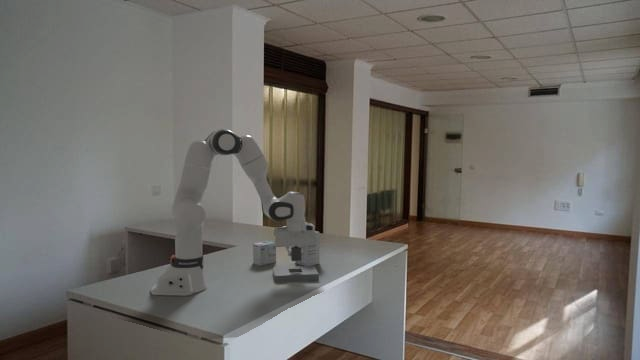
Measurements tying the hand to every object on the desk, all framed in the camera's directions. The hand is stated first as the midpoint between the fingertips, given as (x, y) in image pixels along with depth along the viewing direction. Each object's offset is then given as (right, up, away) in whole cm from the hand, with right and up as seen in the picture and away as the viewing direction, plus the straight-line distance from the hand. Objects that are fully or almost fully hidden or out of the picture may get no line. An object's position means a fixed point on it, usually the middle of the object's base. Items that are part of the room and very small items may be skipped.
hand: (296, 255), depth 208 cm
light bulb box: (-18, -8, +24) cm, 31 cm away
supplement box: (+5, -9, +24) cm, 26 cm away
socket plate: (0, -10, +1) cm, 10 cm away
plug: (0, -2, 0) cm, 2 cm away
